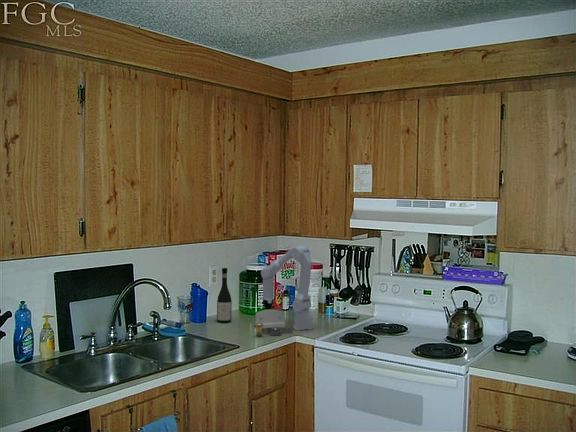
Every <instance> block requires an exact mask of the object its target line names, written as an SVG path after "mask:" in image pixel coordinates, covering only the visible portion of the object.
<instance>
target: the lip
mask: <svg viewBox="0 0 576 432" xmlns="http://www.w3.org/2000/svg"><path fill="white" fill-rule="evenodd" d="M293 333H294V327H293V326H286V327H270V328H262V335H269V336H270V337H274V336H276V337H277V336H282V335H283V334H293Z"/></svg>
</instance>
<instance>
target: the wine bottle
mask: <svg viewBox="0 0 576 432" xmlns="http://www.w3.org/2000/svg"><path fill="white" fill-rule="evenodd" d="M221 278H222V279H221V287H220V291H219V293H218V296H217V300H216V321H217V322H218V323H221V324H222V323H223V324H227V323H230V322H231V321H232V309H233V308H232V307H233V306H232V304H233V303H232V302H233V301H232V296H231V293H230V291H229V287H228V268H227V267H222V268H221Z"/></svg>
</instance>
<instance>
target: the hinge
mask: <svg viewBox="0 0 576 432" xmlns="http://www.w3.org/2000/svg"><path fill="white" fill-rule="evenodd" d="M254 317H255V318H254V325H255V324H256V323H263V326H262V328H270V327H287V326H286V320H285V317H284V312H283V311H281V310H278V309H271V310H265V309H264V310H260V311H258V312H256V313H255V316H254Z"/></svg>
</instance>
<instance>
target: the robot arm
mask: <svg viewBox="0 0 576 432" xmlns="http://www.w3.org/2000/svg"><path fill="white" fill-rule="evenodd" d="M291 259H293V260H295V261H296V262H298V264H299V265H300V273H299V280H298V289H297V293H296V296H295V297H294V301H293V302H292V309H293V312H294V324H293V325H292V327H293V329H294V330H295V331H298V330H299V331H302V330H304V331H306V329H307V330H314V315H313V311H310V309H311V307H312V302H311V296H310V295H309V290H310V289H309V288H310V281H311V271H312V263H313V262H312V258H311V250H310V249H309V247H308V246H306V245H300V246H293V247H292V248H290V249H289V250H288V251H287V252H286V253H285V254H284V255H282V257H281V258H280V259H279V260H278V259H275V260H272V263H270V264H269V265H267V266H266V267H265V268H262V269H261V271H260V275H261V278H262V296H260V300H262V303H263V305H264V306H263V307H264V310H272V306H273V304H274V301H273V300H274V279H275V276H276V274H277V273H279V272H280V271H281V270H282V269H283V268H284V267H283V266H284V264H287V262H289V261H290V260H291Z"/></svg>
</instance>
